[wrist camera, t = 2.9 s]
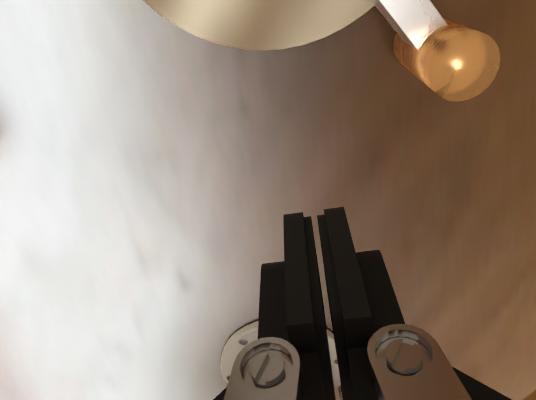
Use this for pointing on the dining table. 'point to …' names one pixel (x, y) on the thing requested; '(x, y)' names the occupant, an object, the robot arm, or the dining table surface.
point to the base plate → (261, 20)
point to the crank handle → (440, 49)
